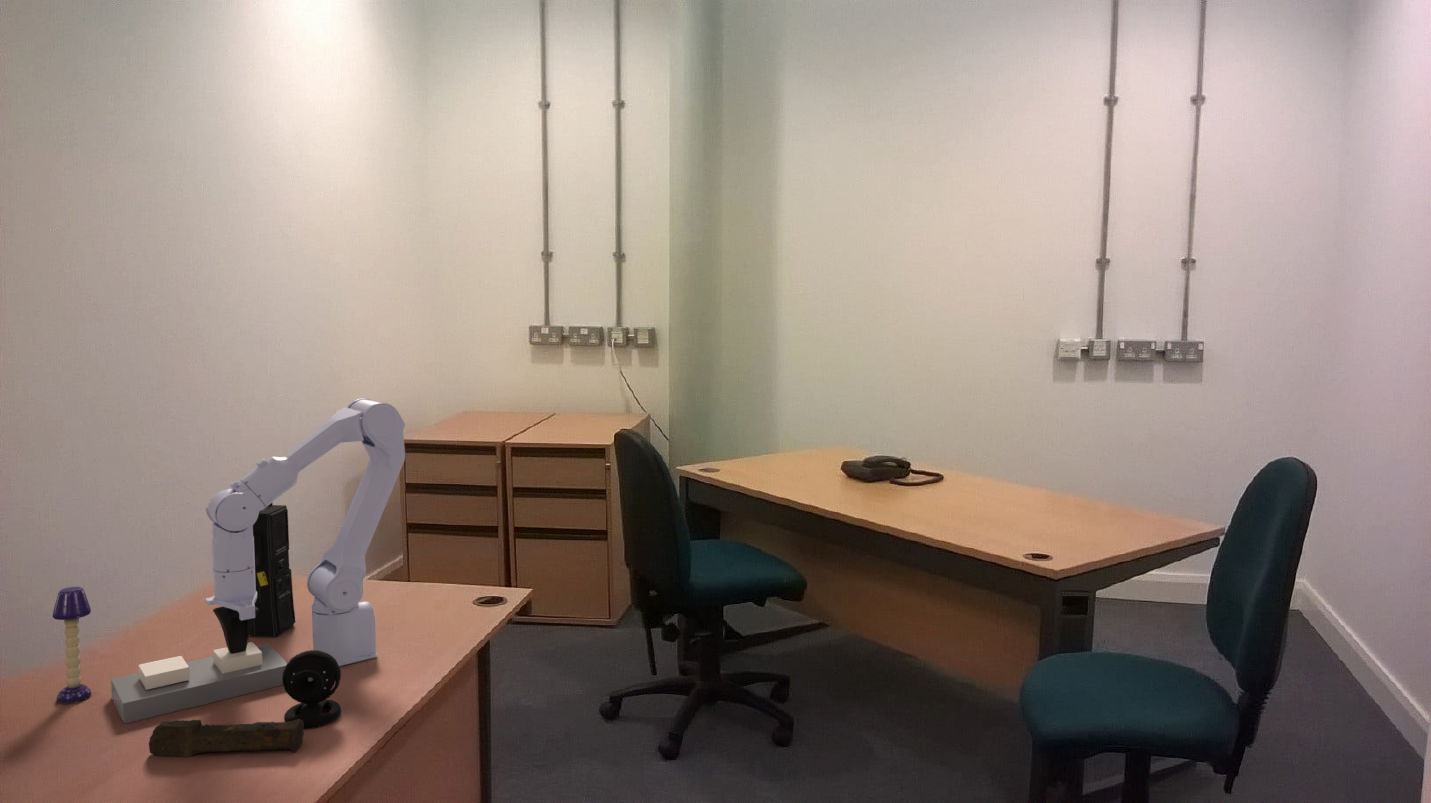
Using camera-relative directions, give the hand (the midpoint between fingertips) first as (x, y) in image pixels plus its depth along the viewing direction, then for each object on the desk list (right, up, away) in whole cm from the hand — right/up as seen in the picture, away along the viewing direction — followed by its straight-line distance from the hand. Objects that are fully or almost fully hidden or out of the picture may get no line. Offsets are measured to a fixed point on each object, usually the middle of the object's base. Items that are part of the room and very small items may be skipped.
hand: (237, 651), depth 141 cm
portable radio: (-6, -3, +22) cm, 23 cm away
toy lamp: (-21, -5, -6) cm, 23 cm away
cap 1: (-8, -5, -6) cm, 11 cm away
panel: (-4, -5, -3) cm, 7 cm away
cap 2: (0, -5, 0) cm, 5 cm away
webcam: (+17, -7, -11) cm, 21 cm away
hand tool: (+10, -8, -21) cm, 25 cm away
